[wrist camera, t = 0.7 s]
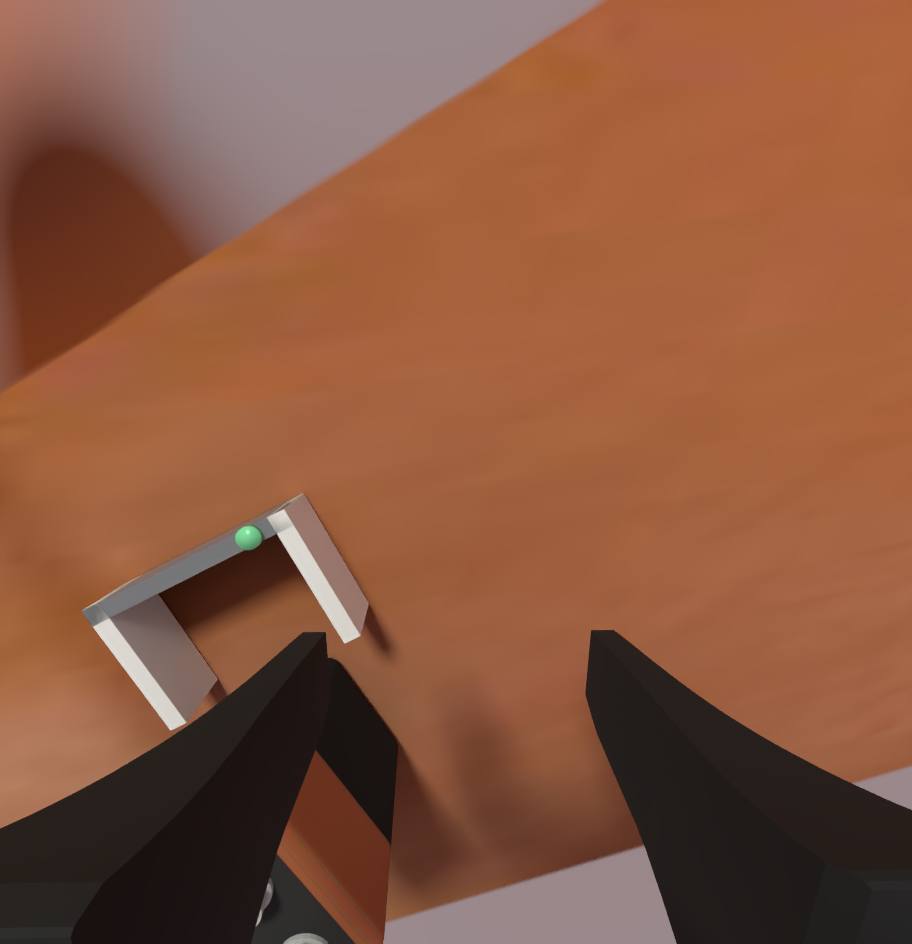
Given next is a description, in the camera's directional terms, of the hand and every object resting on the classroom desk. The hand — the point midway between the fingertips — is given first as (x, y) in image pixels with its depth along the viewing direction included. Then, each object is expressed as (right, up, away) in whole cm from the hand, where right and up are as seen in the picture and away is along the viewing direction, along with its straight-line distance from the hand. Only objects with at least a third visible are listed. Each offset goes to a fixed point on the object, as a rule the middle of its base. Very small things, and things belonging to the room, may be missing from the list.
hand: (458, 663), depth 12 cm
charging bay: (-10, -1, +10) cm, 14 cm away
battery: (-7, -8, +12) cm, 16 cm away
